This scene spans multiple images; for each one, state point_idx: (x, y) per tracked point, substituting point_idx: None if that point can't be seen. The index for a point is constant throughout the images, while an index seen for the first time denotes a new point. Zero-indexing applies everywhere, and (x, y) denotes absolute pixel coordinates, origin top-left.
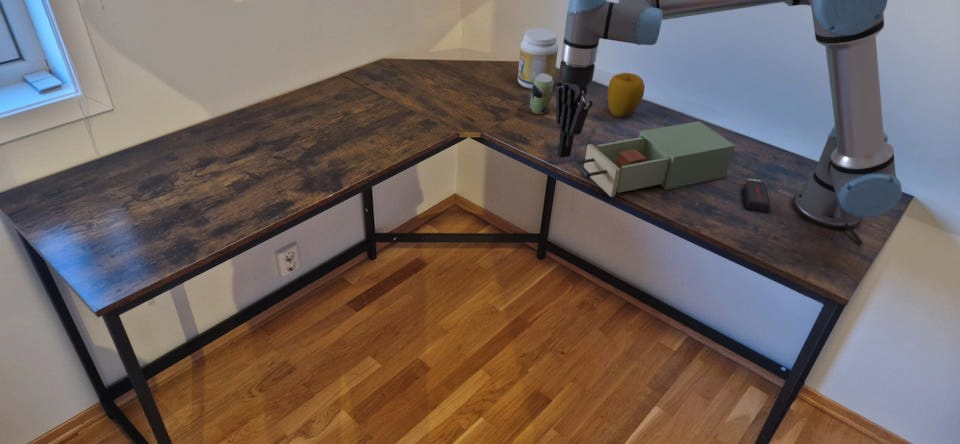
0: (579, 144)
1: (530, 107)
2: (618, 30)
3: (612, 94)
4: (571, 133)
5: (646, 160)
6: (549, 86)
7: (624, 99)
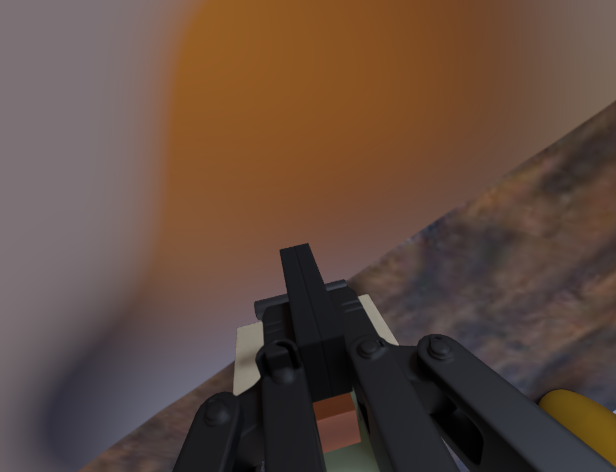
0: (484, 309)
1: None
2: None
3: (605, 432)
4: (200, 421)
5: (361, 422)
6: None
7: None
